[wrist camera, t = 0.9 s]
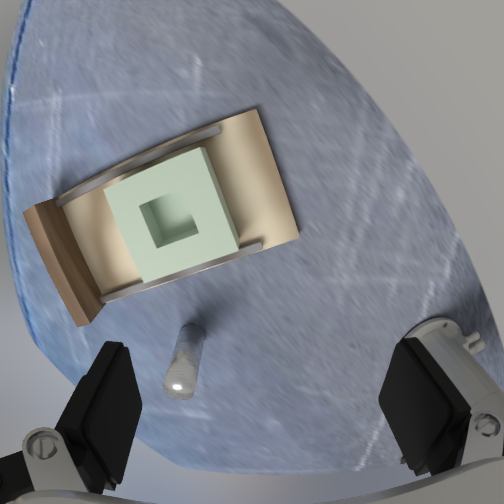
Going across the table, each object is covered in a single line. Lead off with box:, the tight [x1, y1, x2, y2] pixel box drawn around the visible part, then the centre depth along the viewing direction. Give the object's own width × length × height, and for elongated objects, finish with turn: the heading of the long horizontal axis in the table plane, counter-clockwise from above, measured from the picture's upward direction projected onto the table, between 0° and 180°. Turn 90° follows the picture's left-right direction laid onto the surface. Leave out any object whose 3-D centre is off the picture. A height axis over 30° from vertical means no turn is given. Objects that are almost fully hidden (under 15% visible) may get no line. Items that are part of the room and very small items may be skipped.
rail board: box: [23, 109, 300, 327], centre depth 30 cm, size 26×14×6 cm, turn 109°
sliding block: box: [103, 147, 240, 283], centre depth 30 cm, size 10×10×4 cm
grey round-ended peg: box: [163, 325, 205, 400], centre depth 33 cm, size 3×3×10 cm
